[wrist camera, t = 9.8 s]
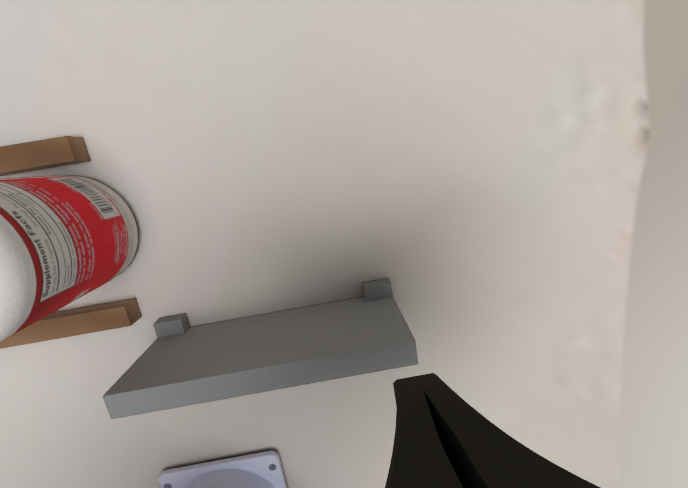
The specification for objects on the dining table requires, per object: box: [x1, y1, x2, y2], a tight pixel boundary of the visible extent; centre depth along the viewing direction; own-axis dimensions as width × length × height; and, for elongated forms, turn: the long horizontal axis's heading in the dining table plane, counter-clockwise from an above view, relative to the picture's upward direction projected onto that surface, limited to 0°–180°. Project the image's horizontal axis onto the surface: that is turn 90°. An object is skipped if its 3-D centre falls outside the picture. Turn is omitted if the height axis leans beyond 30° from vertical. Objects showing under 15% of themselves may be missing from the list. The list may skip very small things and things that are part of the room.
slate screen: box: [103, 278, 418, 419], centre depth 18 cm, size 3×14×6 cm, turn 99°
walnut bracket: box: [0, 136, 142, 349], centre depth 19 cm, size 10×9×1 cm
